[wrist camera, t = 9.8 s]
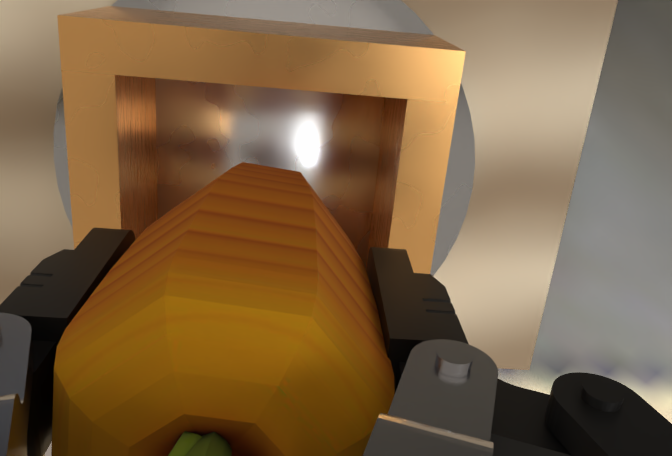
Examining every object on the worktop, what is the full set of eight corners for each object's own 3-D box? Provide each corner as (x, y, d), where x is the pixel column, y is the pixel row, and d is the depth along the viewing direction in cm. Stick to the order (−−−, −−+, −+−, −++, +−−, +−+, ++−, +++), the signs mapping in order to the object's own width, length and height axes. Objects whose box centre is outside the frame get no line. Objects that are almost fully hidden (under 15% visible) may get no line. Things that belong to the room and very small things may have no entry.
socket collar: (43, -75, 17) (-44, -89, 13) (505, -30, 18) (564, -30, 14) (74, 332, 22) (18, 418, 18) (438, 353, 23) (466, 439, 19)
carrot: (238, 67, 17) (-103, 503, 3) (389, 163, 18) (632, 797, 4) (153, 213, 18) (-334, 948, 5) (297, 294, 20) (256, 1074, 6)
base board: (-67, -104, 18) (-92, -109, 17) (608, -37, 19) (626, -37, 18) (-11, 321, 23) (-27, 339, 22) (519, 352, 25) (529, 369, 24)
